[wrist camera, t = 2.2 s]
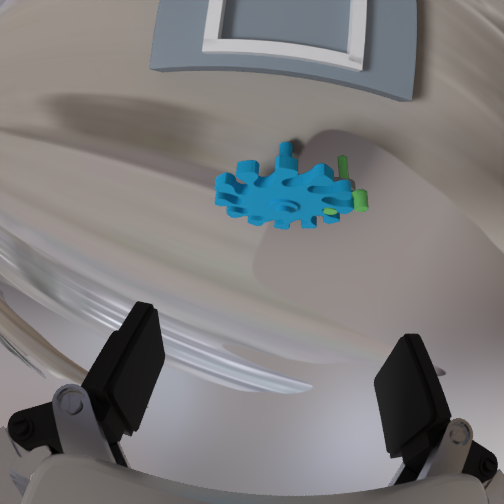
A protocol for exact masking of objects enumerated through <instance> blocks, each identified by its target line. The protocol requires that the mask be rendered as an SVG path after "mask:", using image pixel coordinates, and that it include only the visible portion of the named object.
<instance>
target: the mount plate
mask: <svg viewBox="0 0 504 504" xmlns="http://www.w3.org/2000/svg"><path fill="white" fill-rule="evenodd" d="M416 42H417V4H416V0H160V1H159V6H158V11H157V17H156V23H155V29H154V35H153V42H152V50H151V59H150V68H149V69H151V70H155V71H159V72H173V71H242V72H256V73H268V74H277V75H285V76H293V77H300V78H306V79H312V80H318V81H323V82H328V83H333V84H338V85H342V86H346V87H351V88H355V89H359V90H363V91H366V92H370V93H374V94H377V95H380V96H384V97H387V98H390V99H393V100H396V101H412V94H413V85H414V75H415V62H416Z"/></svg>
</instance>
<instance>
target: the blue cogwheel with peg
mask: <svg viewBox="0 0 504 504" xmlns="http://www.w3.org/2000/svg"><path fill="white" fill-rule="evenodd" d="M292 151H293V145H292V144H291V143H290V142H282V143H280V149H279V156H277V157H276V159H275V171H274V172H273V173H272V174H271V175H269V176H267V177H261V176H258V175H259V163H258V162H257V161H256V160H247V161H241V162H238V163H237V171H236V177H237V178H238V179H240V180H242V181H244V182H245V183H246V184H240V183H238V182H237V181H236V178H235V176H234V175H233V174H231V173H227V172H226V173H223V174H221V175H219V176H218V177H217V178H216V182H215V188H214V189H215V190H217V191H216V197H215V205H218V206H227V214H228V215H229V216H230V217H232V218H238V217H242V216H248V223H250V224H253V225H256V226H261V225H263V223H265V222H267V221H272V220H275V224H274V227H275V228H279V229H289V227H290V225H289V224H290V223H291V222H293V221H295V220H301V227H302V228H316V226H317V221H316V220H317V218H316V216H323V217H324V222H325V223H328V224H330V223H335V222H339V221H340V213H341V214H347V213H349V212H351V211H352V210H353V209H355V211H358V212H365V211H367V210H368V196H367V191H366V190H362V189H358V190H355V182H354V181H353V180H351V179H349V175H348V165H347V157H346V156H344V155H341V156H339V157H338V167H339V177H334V172H333V170H332V169H331V168H330V167H329V166H328V165H326V164H324V163H321V164H317V165H315V166H314V167H313V168H312V169H311V170H310V171H308V172H306V173H303V174H298V160H297V159H295V158H292ZM353 200H354V202H353Z"/></svg>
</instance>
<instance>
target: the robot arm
mask: <svg viewBox="0 0 504 504" xmlns="http://www.w3.org/2000/svg"><path fill="white" fill-rule="evenodd" d="M164 360H165V352H164V346H163V341H162V335H161V330H160V323H159V317H158V311H157V309H154V307H153V305H152V304H149V303H144V302H139V301H138V302H136V303H135V305H134V307H133V308H132V310H131V311H130V313H129V314H128V316H127V318H126V319H125V321H124V322H123V324H122V326H121V327H120V329H119V331H118V330H116V331H114V332H113V333H112V334H111V335H110V337H109V339H108V340H107V342H106V344H105V345H104V347H103V349H102V350H101V352H100V354H99V355H98V357H97V359H96V361H95V362H94V364H93V365H92V367H91V369H90V371H89V372H88V374H87V376H86V378H85V380H84V381H83V383H82V385H81V386H79V385H75V384H66V385H64V386H61V387H60V388H59V389H58V390H57V391H56V392H55V394H54V396H53V399H52V402H49V403H45V404H42V405H39V406H35V407H32V408H28V409H25V410H21V411H18V412H16V413H14V414H13V415H12V416H11V418H10V419H9V422H8V427H7V428H5V427H2V428H0V504H504V474H503V473H502V471H501V470H500V469H499V470H497V468H498V462H497V458H496V457H495V455H494V454H493V453H492V452H490V451H489V450H487V449H486V448H484V447H483V446H481V445H479V444H478V443H476V442H475V441H473V440H472V439H473V431H472V428H471V426H470V425H469V423H468V422H467V421H465V420H463V419H461V418H456V419H453V420H452V421H451V420H450V418H451V413H450V410H449V407H448V404H447V401H446V398H445V395H444V392H443V390H442V387H441V384H440V382H439V379H438V377H437V374H436V372H435V369H434V367H433V364H432V362H431V359H430V357H429V355H428V352H427V350H426V348H425V345H424V343H423V341H422V339H421V337H420V335H419V334H405V335H404V336H403V337H401V338H400V339H399V340H398V342H397V344H396V346H395V347H394V349H393V350H392V352H391V354H390V355H389V357H388V358H387V360H386V362H385V363H384V365H383V366H382V368H381V369H380V371H379V372H378V374H377V375H376V377H375V379H374V387H375V392H376V396H377V401H378V405H379V411H380V416H381V421H382V427H383V432H384V438H385V444H386V450H387V452H388V453H390V457H391V458H397V457H402V458H403V462H402V464H401V466H400V467H399V469H398V471H397V472H396V474H395V476H394V477H393V479H392V481H391V482H390V483H389V485H388V487H385V488H379V489H374V490H368V491H360V492H353V493H344V494H333V495H317V496H272V495H256V494H245V493H236V492H228V491H221V490H215V489H208V488H203V487H198V486H193V485H188V484H184V483H180V482H176V481H171V480H168V479H164V478H160V477H156V476H153V475H149V474H146V473H143V472H140V471H136V470H133V469H131V467H130V465H129V463H128V460H127V458H126V456H125V454H124V452H123V449H122V447H121V445H120V442H119V441H120V440H121V438H122V435H123V434H125V435H128V436H132V433H133V431H135V432H136V431H137V430H138V429H139V426H140V423H141V421H142V418H143V415H144V413H145V410H146V407H147V405H148V402H149V399H150V397H151V394H152V392H153V389H154V386H155V384H156V381H157V379H158V376H159V374H160V371H161V369H162V366H163V364H164ZM33 472H34V474H33ZM32 474H33V475H32ZM31 475H32V478H31V480H30V476H31Z"/></svg>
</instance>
